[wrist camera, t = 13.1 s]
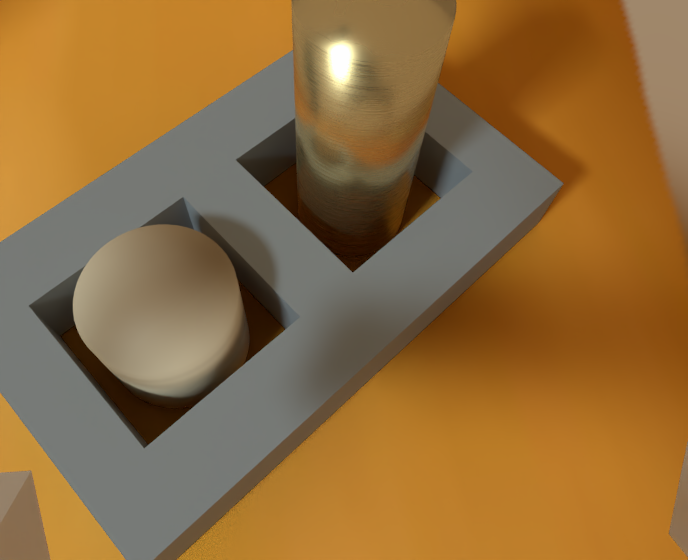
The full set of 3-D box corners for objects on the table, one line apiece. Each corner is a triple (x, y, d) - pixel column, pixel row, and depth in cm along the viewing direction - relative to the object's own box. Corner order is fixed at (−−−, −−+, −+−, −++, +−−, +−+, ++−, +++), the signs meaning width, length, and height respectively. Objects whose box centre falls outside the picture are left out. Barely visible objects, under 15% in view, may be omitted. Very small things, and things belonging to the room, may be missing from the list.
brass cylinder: (276, 205, 27) (257, -9, 17) (352, 148, 29) (374, -80, 19) (348, 276, 26) (373, 88, 16) (424, 212, 27) (489, 4, 17)
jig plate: (-33, 323, 24) (-76, 291, 22) (346, 62, 31) (350, 12, 28) (159, 575, 21) (137, 574, 18) (538, 222, 27) (563, 183, 25)
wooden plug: (84, 337, 24) (39, 290, 20) (193, 255, 26) (172, 197, 22) (167, 438, 23) (137, 407, 19) (277, 344, 25) (271, 299, 21)
